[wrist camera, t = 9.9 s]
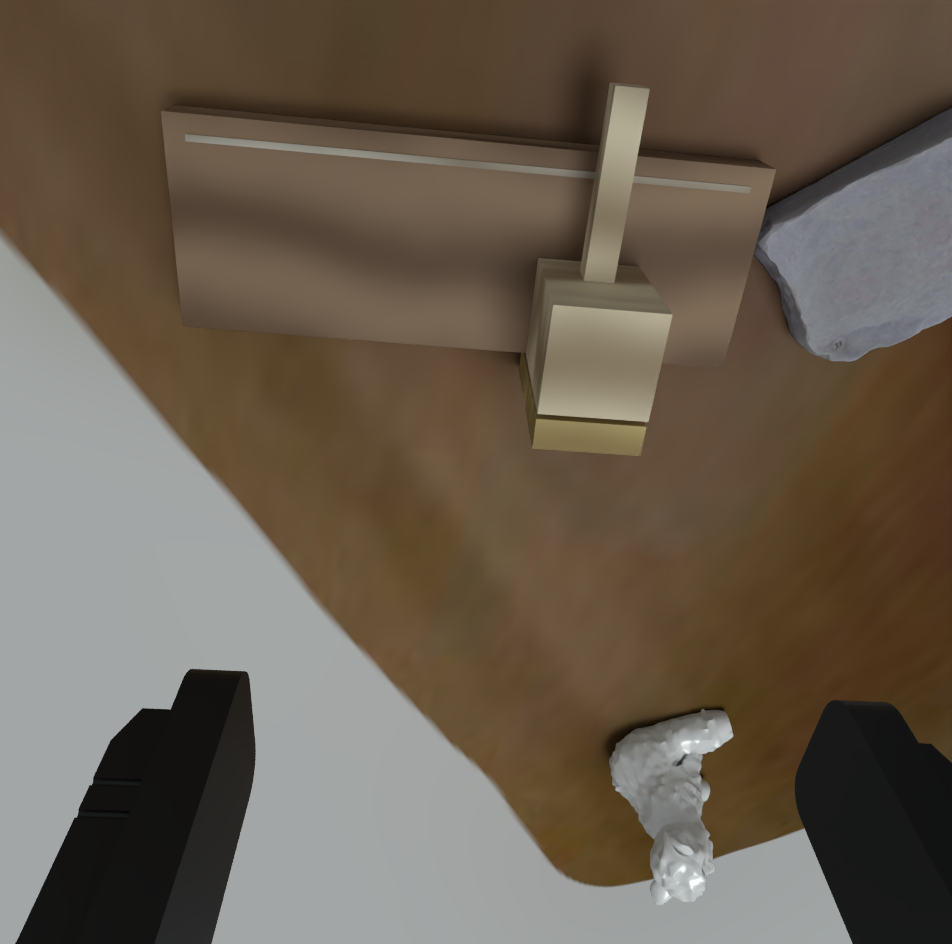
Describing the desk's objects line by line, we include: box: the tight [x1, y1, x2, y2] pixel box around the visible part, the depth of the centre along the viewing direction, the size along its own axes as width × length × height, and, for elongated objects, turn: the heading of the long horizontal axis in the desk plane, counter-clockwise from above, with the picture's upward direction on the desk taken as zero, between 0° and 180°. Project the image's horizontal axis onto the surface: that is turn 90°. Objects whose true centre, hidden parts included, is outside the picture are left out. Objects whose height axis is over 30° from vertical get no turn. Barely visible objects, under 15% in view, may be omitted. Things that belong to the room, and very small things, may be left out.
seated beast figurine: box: [609, 709, 733, 905], centre depth 55 cm, size 10×9×12 cm
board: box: [161, 105, 776, 368], centre depth 39 cm, size 10×28×2 cm, turn 85°
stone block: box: [754, 108, 952, 362], centre depth 40 cm, size 12×5×10 cm
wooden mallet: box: [519, 83, 673, 456], centre depth 36 cm, size 15×5×9 cm, turn 175°
